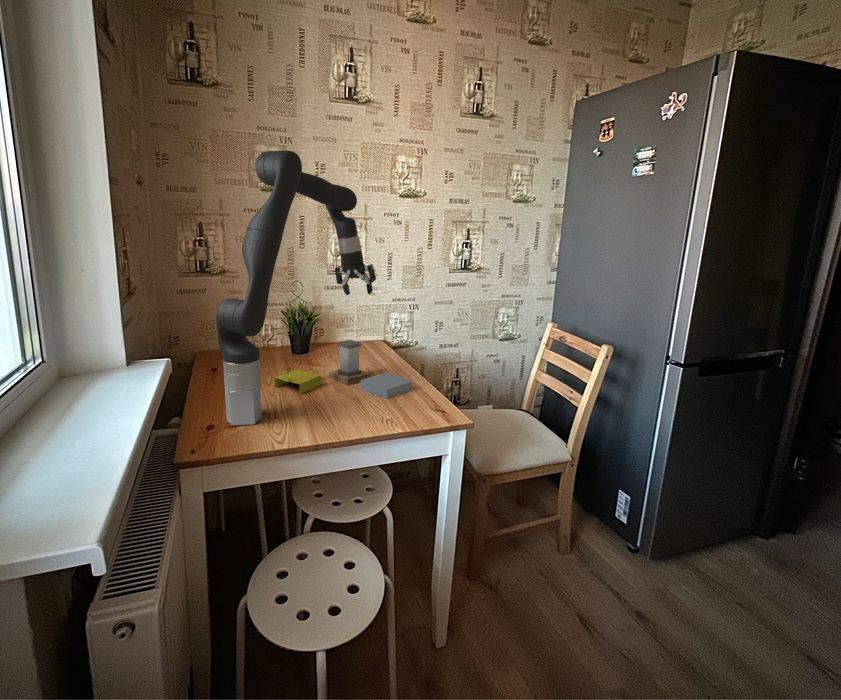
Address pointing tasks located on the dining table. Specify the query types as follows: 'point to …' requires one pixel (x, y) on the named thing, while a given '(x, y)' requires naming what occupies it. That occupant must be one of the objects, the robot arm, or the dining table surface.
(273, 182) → the robot arm
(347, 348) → the post
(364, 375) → the stand
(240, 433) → the dining table surface
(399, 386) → the stand
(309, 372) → the bracket
